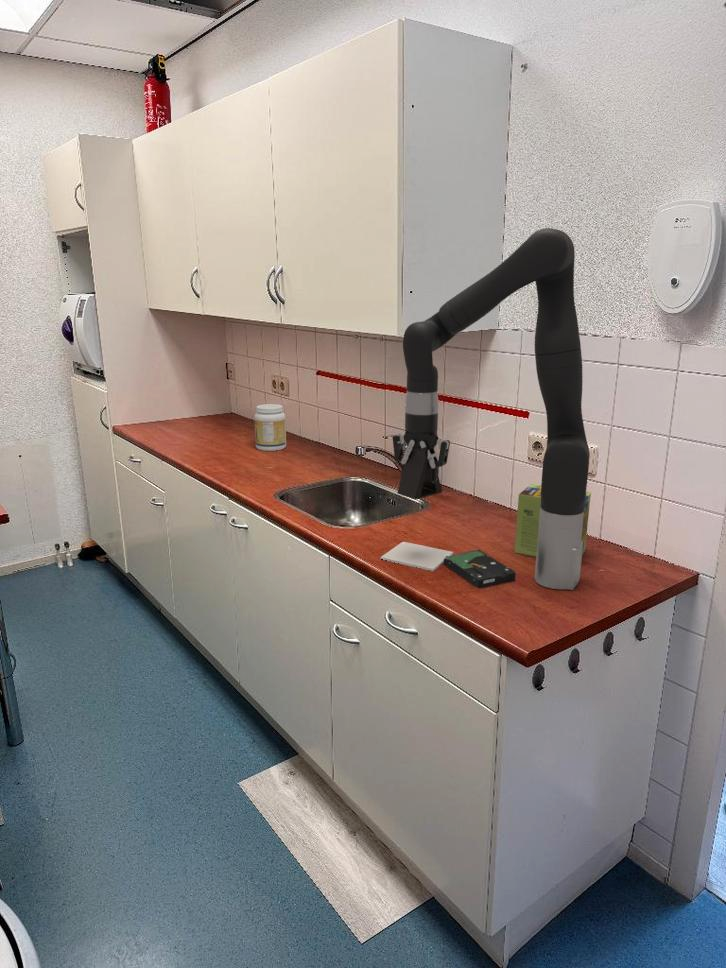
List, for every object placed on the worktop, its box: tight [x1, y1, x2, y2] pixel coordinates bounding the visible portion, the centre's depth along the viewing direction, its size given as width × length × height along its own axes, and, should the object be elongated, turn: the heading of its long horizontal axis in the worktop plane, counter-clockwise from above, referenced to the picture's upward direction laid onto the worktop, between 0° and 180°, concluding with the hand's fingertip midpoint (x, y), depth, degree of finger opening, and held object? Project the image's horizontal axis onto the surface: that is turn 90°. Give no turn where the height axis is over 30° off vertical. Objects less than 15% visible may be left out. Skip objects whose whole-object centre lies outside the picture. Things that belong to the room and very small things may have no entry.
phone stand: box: [397, 446, 443, 500], centre depth 162 cm, size 9×6×12 cm, turn 129°
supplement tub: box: [254, 403, 287, 452], centre depth 274 cm, size 12×12×17 cm
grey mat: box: [380, 541, 455, 572], centre depth 168 cm, size 14×12×1 cm
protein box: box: [513, 483, 592, 558], centre depth 170 cm, size 10×15×16 cm
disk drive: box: [443, 549, 517, 589], centre depth 160 cm, size 10×3×15 cm
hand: (419, 480), depth 163 cm, fingers closed on phone stand, 6 cm apart
